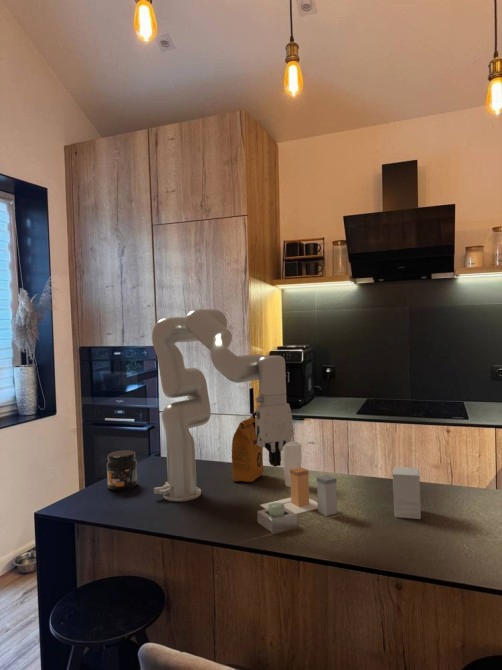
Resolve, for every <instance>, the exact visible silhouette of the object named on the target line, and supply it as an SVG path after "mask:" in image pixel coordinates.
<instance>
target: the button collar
mask: <svg viewBox="0 0 502 670" xmlns="http://www.w3.org/2000/svg"><path fill="white" fill-rule="evenodd" d="M256 513H257V516H256V517H257V523H258V524H259V525H260V526H262V527H263V528H264V529H266V530H268V531H269V532H270V533H271V534H277V533H280V532H284V531H287V530H291V529H293V528H297V527H298V521H297V515H298V514H295V513H293V512H292V511H290V510H288V509H287V508H285V507H284V513H285V515H283V516H279V517H275V518H273V517H271V516H270V515H269V508H268V509H265V508H263V509H262V510H261V509H260V510H257V512H256Z"/></svg>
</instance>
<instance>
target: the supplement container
mask: <svg viewBox="0 0 502 670" xmlns="http://www.w3.org/2000/svg"><path fill="white" fill-rule="evenodd" d="M135 458H136V452H135V451H133V450H124V449H122V450H116V451H112V452H110V453H109V454H107V461H108V462H107V463H106V472H107V473H106V474H107V487H108V489H109V490H111V491H114V492H115V491H117V492H118V491H127V490H131V489H133V488H135V487H136V486H137V484H138V470H137V469H138V468H137V465H138V462H137V459H135Z"/></svg>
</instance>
